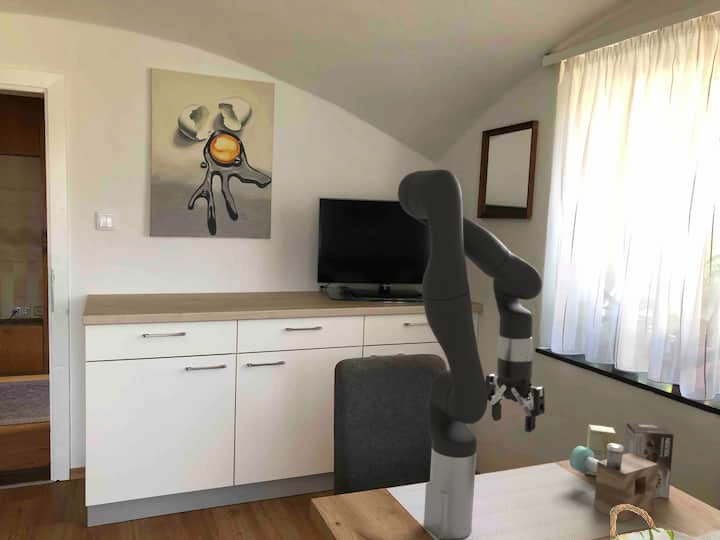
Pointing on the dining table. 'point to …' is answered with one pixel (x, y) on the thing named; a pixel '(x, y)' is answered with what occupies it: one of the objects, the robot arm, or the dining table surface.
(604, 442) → the skincare box
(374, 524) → the dining table surface
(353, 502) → the dining table surface
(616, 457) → the dial post
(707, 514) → the dining table surface
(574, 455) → the knob
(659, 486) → the coffee box
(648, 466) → the mount
